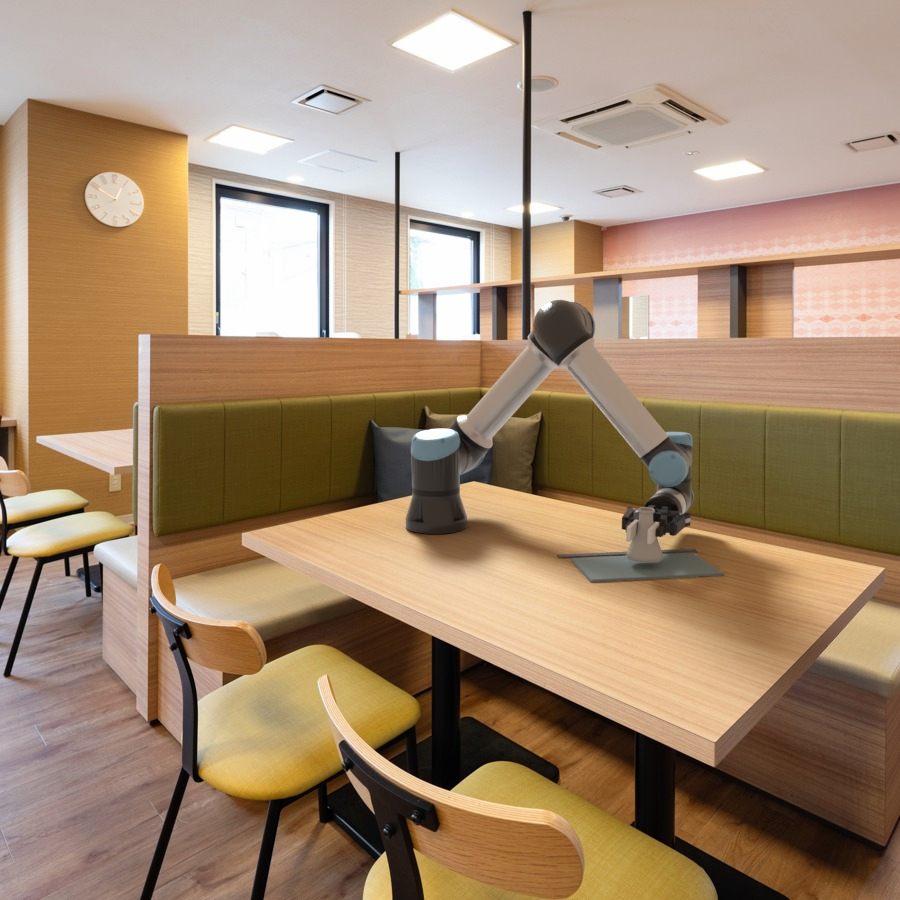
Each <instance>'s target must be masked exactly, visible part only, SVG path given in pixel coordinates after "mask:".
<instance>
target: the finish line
mask: <svg viewBox="0 0 900 900" xmlns="http://www.w3.org/2000/svg"><path fill="white" fill-rule="evenodd" d="M661 551H662V554H674V553H685V552H690V553H698V552H699V551H698V549H696V548H680V549H679V548H678V549H676V548H675V549H674V548H673V549H661ZM626 554H627V551H610V552H609V551H606V552H605V551H604V552H587V553H586V552H585V553H566V554H565V553H563V554H562V553H561V554H557V555H556V556H557V557H559V559H571V558H576V557H577V558H585V557H607V556H620V555H621V556H626Z"/></svg>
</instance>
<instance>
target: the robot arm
mask: <svg viewBox="0 0 900 900" xmlns="http://www.w3.org/2000/svg"><path fill="white" fill-rule="evenodd" d="M532 322H533V323H532V330H531V331H530V333H529V334H528V336H527V346H526V347H525V348H524V349H523V351H521V352H520V353H519V355H518V356H517V357H516V358H515V360H514V361H513V362H512V363H511V364H510V365H509V366H508V367H507V369H506V370H505V371H504V372H503V373H502V374H501V375H500V376H499V378H498V379H497V381H495V382H494V384H493V385H492V386H491V387H490V389H488V391H487V392H486V393H485V394H484V395H483V397H481V399H480V400H479V401H477V403H476V404H475V406H474V407H473V408H472V409H471V410H470V411H469V412H468V414H467V415H458V416H457V417H456V419H454V420H453V422H452V423H451V424H450V425H449V427H448V428H445V427H444V428H430V429H425V430H421V431H419V432H418V431H417V433H415V434H414V435H413V436H412V438H411V445H410V454H411V459H410V461H411V487H412V488H411V492H412V493H411V494H412V495H411V498H410V502H409V506H408V509H407V511H406V512H407V513H406V516H405V528H406V529H407V530H408V531H410V532H413V533H419V534H425V535H441V534H442V535H443V534H452V533H456V532H457V533H458V532H460V531H463V530H465V529H466V528H467V527H468V515H467V513H466V510H465V507H464V504H463V503H464V502H463V500H462V497H461V493H460V492H461V485H460V484H461V480H460V478H461V476H462V475H464V474H466V473H469V472H471V471H472V470H475V469H476V468H478V467H479V465H480V464H481V463H482V462H483V460H484V459H485V456H486V454H487V453H488V452H489V450H491V448H492V447H493V445H494V443H493V438H494V436H495V435H496V434H497V433H498V432H499V431H500V430H501V428H502V427H503V426H504V425H505V424H506V423H507V422H508V420H509V419H511V417H513V415H514V414H515V413H516V412H517V411H518V409H520V407H521V406H522V405H523V404H524V403H525V402H526V400H527V399H528V398H529V397H530V396H532V394H533V393H534V392H535V391H536V390H537V388H538V387H539V386H540V385H541V384H542V383H544V381H545V380H546V378H548V376H549V375H550V374H551V373H552V372H553V371H554V370H555V369H566V370H567V372H569V374H570V375H571V376H572V377H573V379H574V380H575V381H576V382H577V384H578V385H579V386H580V387H581V388H582V390H583V391H584V392H585V393H586V394H587V395H588V397H589V398H590V400H592V402H593V403H594V404H595V405H596V406H597V408H598V409H599V410H600V412H601V413H602V414H603V415H604V416H605V418H607V420H608V421H609V422H610V424H611V425H612V426H613V427H614V429H615V430H616V431H617V432H618V433H619V434H620V435H621V437H622V438H623V439H624V440H625V442H626V443H627V445H629V447H630V448H631V449H632V450H633V452H634V453H635V454H636V455H637V456H638V457H639V459H640V460H641V462H642V463H643V464H644V465H645V467H647V469H648V473H649V476H650V478H651V480H652V481H653V482H654V483H656V492H655V493H654V494H653V495H652V496H651V497H650V498H649V499H648V500H647V501H646V502H645V503H644V506H643V507H648V508H653V509H655V512H654V513H653V523H654V524H653V525H652V526H651V527H650V528H649V529H648V535H647V544H652V543H653V542H654V541H655V539H656V538H657V539H658V538H663V536H666V534H669V536H671V537H675V536H676V535H678V534H679V533H680V532H681V531H682V530H683V529H684V528H687V527H691V521H692V520H691V516H692V515H691V513H689V512H688V511H689V510H690V509H691V506H692V505H693V502H694V491H693V489H692V472H693V471H692V470H693V469H692V467H693V466H692V465H693V452H694V451H693V450H694V445H693V435H692V434H691V433H688V432H685V431H665V430H664V429H663V427H661V425H660V423H658V422H657V421H656V419H655V418H654V417H653V415H651V413H650V412H649V411H648V410H647V408H646V407H645V406H644V405H643V404H642V402H641V401H640V400H639V399H638V398H637V396H636V395H635V394H634V393H633V391H632V389H630V388H629V387H628V386H627V384H626V383H625V382H624V381H623V379H622V378H621V377H620V376H619V375H618V373H617V372H616V370H614V369H613V367H612V366H611V365H610V364H609V362H608V361H607V360H606V359H605V358H604V356H603V355H602V354H601V353H600V351H599V350H598V349H597V348H596V347H595V338H594V336H595V333H596V323H595V319H594V316H593V314H592V313H591V312H590V311H589V310H588V308H586V307H585V306H584V305H582V304H581V303H578V302H576V301H568V300H565V299H555V300H551V301H548V302H547V303H545V304H544V305H542V306H541V307H540V308H539V309H538V310H537V312H536V314H535V316H534V318H533V321H532ZM638 521H639V512H638V510H637V509H636V508H633V507H632V506H626V512H624V514H623V515H622V516H621V529H622V530H623V531H625V534H626V539H625V541H626V542H632V539H633V538H634V537H635V536H636V532H637V526H638Z"/></svg>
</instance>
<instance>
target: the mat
mask: <svg viewBox="0 0 900 900" xmlns="http://www.w3.org/2000/svg"><path fill="white" fill-rule="evenodd" d="M663 557H664V559H663V560H662V561H660V562H659V563H643V562H638V561H632V560H629V559H628V558H627V556H626V555H623V556H600V557H578V558H570V561H571V562H572V564H573V565H574V566H575V567H576V566H577V567H576V568H577V569H578V568H579V569H578V570H579V571H580V573H582V574H583V576H584V577H585V576H586V577H587V578H588V579H587V578H586V577H585V578H586V579H587V580H588V581H589V582H590V583H599V582H600V581H601V583H602V582H603V583H604V581H606V582H621V581H624V580H626V581H641V580H642V581H643V580H646V581H647V580H664V579H666V580H667V579H684V578H683V577H688V578H700V577H699V576H708V577H723V576H722V575H724V576H725V572H723V571H721V570H720V569H718V568H717V567H715V566H714V565H713V564H711V563H709V562H708V561H706V560H704V559H703V558H701V557H700V556H698V555H697V554H696V553H695V552H690V553H667V554H663ZM624 582H625V581H624Z"/></svg>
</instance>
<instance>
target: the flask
mask: <svg viewBox="0 0 900 900" xmlns="http://www.w3.org/2000/svg"><path fill="white" fill-rule="evenodd" d="M637 511H638V512H639V521H638V526H637V532H636V536H635V537H634V538H633V539H632V540H631V541H630V544H629V547H628V549H627V551H626V552H627V554H626V555H625V556H627V558H628V559H629V560H632V561H638V562H643V563H659V562H660V561H662V560H663V559H664V557H663V554H662V551H661V550H662V548H661V546H660V542H659V539H658V537H657V538H656V539H655V541H654V542H653V543H652V544H647V535H648V529H649V528H650V527H651V526H652V525H653V524H654V523H653V513H654V512H655V509H653V508H648V507H644V506H643V507H642V506H640V507H639V508H637Z"/></svg>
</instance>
